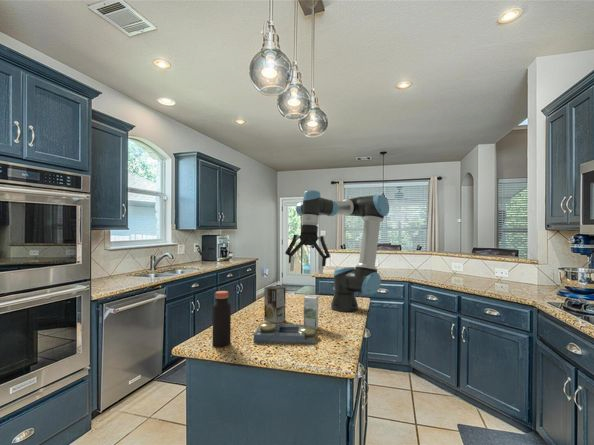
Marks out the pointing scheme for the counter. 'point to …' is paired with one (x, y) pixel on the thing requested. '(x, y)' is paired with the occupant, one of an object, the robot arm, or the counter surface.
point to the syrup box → (311, 311)
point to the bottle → (221, 320)
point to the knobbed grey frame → (277, 332)
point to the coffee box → (274, 304)
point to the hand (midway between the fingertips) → (306, 272)
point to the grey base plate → (309, 339)
